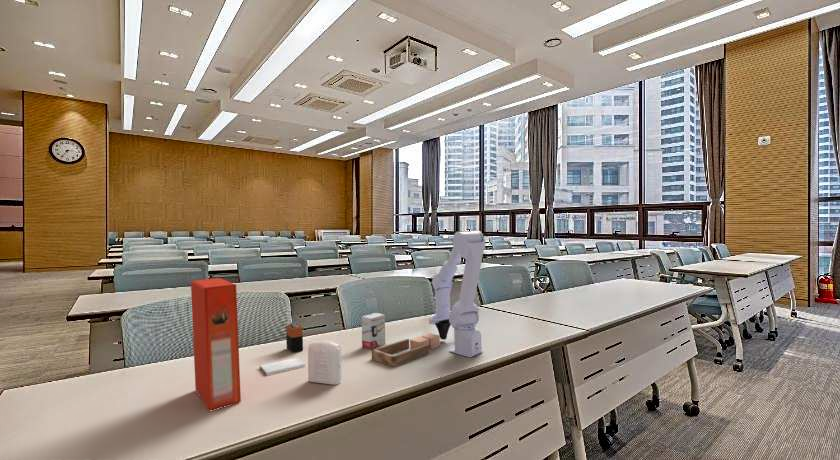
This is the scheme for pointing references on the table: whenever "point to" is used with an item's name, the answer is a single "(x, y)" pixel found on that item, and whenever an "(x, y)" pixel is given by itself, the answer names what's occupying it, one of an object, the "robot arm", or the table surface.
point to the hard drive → (282, 366)
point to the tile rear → (432, 340)
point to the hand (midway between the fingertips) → (443, 338)
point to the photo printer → (324, 362)
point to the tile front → (418, 342)
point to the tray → (385, 353)
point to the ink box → (373, 330)
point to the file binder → (216, 342)
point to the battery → (294, 337)
